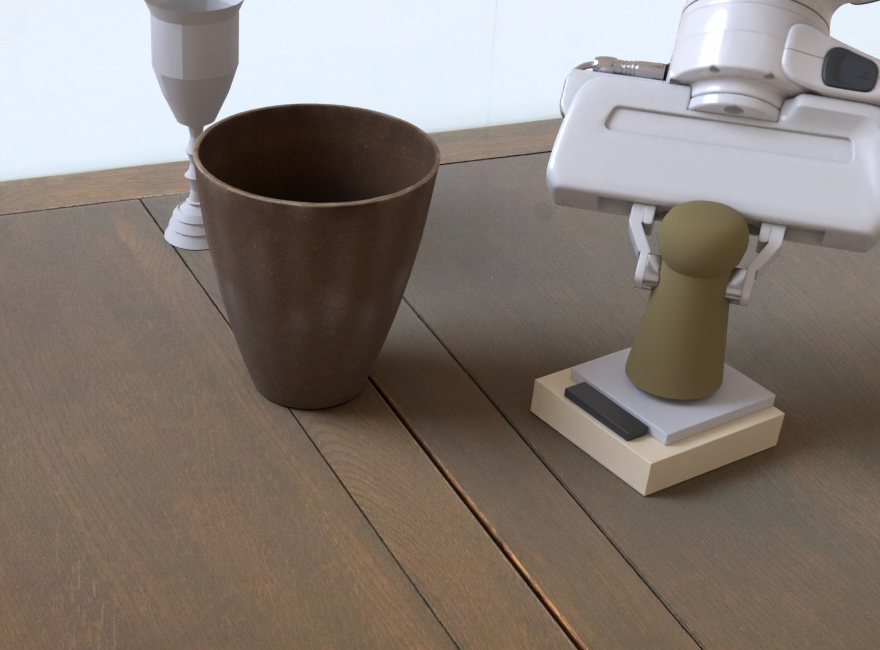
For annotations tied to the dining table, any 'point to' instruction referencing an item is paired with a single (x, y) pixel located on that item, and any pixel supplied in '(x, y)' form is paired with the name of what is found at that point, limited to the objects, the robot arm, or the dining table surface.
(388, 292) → the flower pot
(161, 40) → the chalice
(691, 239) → the olive pawn
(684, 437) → the scale
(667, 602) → the dining table surface
